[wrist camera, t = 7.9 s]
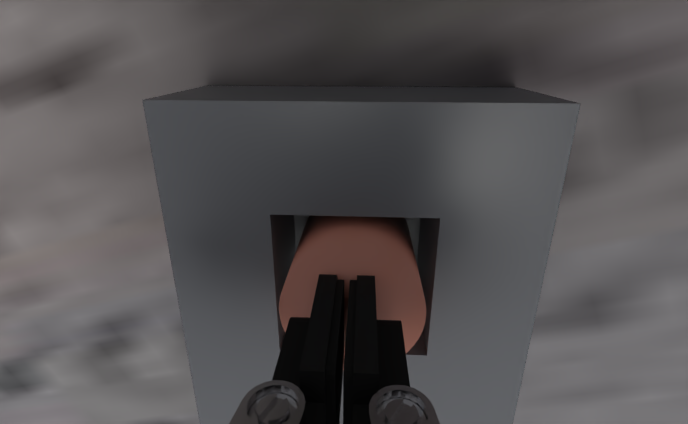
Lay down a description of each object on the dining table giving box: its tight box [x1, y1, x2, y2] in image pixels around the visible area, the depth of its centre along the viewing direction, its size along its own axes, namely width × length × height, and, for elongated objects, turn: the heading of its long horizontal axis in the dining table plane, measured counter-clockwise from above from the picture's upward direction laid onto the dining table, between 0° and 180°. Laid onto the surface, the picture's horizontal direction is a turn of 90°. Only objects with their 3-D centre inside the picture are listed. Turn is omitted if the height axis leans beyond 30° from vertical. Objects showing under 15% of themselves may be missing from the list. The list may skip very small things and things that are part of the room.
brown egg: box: [279, 215, 426, 371], centre depth 14 cm, size 4×4×5 cm
